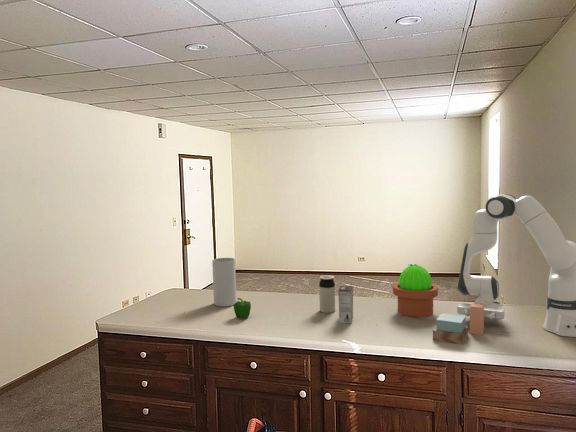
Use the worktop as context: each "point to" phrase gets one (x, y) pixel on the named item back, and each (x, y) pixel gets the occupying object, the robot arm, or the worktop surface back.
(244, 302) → the bell pepper
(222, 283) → the cylinder vase
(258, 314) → the worktop surface
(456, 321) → the grey-teal top block
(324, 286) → the travel mug
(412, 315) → the potted cactus
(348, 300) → the coffee box
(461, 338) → the walnut base block
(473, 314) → the terracotta tall block
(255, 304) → the worktop surface
